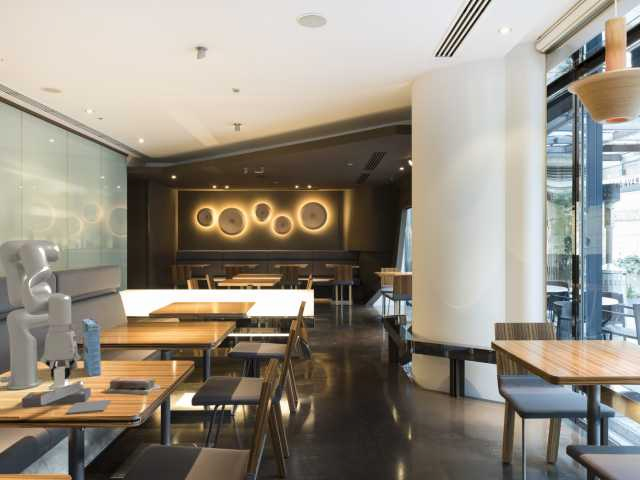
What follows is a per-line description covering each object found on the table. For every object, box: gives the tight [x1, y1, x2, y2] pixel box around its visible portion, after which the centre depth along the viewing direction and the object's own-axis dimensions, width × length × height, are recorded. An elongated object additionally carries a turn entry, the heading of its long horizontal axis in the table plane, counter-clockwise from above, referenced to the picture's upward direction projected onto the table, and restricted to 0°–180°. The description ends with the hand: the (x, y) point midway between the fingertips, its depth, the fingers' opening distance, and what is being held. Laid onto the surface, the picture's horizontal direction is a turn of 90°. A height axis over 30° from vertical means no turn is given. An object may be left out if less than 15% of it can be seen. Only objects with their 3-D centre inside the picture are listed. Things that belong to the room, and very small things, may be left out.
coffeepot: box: [56, 334, 78, 370], centre depth 236 cm, size 15×9×18 cm, turn 54°
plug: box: [48, 366, 74, 391], centre depth 184 cm, size 6×6×10 cm
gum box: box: [81, 318, 102, 377], centre depth 227 cm, size 20×5×23 cm, turn 32°
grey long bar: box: [41, 380, 84, 405], centre depth 175 cm, size 18×2×3 cm, turn 164°
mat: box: [65, 399, 112, 415], centre depth 176 cm, size 12×11×1 cm
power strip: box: [21, 387, 92, 408], centre depth 184 cm, size 21×8×4 cm, turn 101°
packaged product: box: [106, 376, 162, 395], centre depth 197 cm, size 18×5×10 cm
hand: (60, 377), depth 185 cm, fingers closed on plug, 3 cm apart
